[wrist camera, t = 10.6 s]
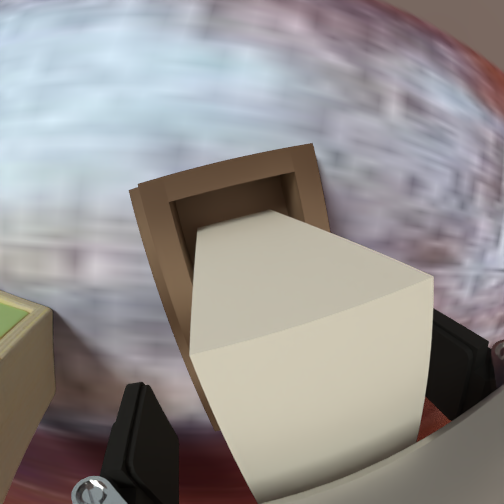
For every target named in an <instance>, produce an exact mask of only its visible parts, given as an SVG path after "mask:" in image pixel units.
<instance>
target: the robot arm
mask: <svg viewBox="0 0 504 504" xmlns="http://www.w3.org/2000/svg"><path fill="white" fill-rule="evenodd" d="M488 344H489V341H487V340H486V339H484V338H482V337H481V336H479V335H477V334H476V333H474V332H472V331H471V330H469V329H467V328H466V327H464V326H462V325H461V324H459V323H457V322H456V321H454V320H452V319H451V318H449V317H447V316H446V315H444V314H442V313H440V312H439V311H437V310H435V309H434V308H433V323H432V339H431V351H430V362H429V371H428V379H427V386H426V393H425V396H426V397H427V398H428V399H429V400H430V401H431V402H432V403H433V404H434V405H435V406H436V407H437V408H438V409H439V410H440V411H441V412H442V413H443V414H444V415H445V416H446V417H447V418H448V419H449V420H451V422H450V423H448V424H447V425H445V426H444V427H442V428H440V429H439V430H437V431H436V432H434V433H432V434H431V435H429V436H427V437H426V438H424V439H422V440H420V441H419V442H417V443H415V444H413V445H412V446H410V447H408V448H406V449H404V450H402V451H400V452H398V453H396V454H395V455H393V456H391V457H389V458H387V459H384V460H382V461H380V462H378V463H376V464H374V465H372V466H370V467H367V468H365V469H363V470H360V471H358V472H356V473H353V474H351V475H349V476H346V477H344V478H341V479H338V480H336V481H333V482H331V483H328V484H325V485H322V486H319V487H316V488H313V489H310V490H307V491H304V492H301V493H298V494H295V495H291V496H288V497H284V498H281V499H277V500H273V501H269V502H265V503H261V504H504V340H500V341H498V342H496V343H495V344H494V345H493V346H492V348H491V349H490V348H488ZM72 502H73V504H179V441H178V437H177V435H176V433H175V431H174V430H173V428H172V426H171V424H170V423H169V421H168V419H167V417H166V416H165V414H164V412H163V410H162V408H161V406H160V404H159V403H158V401H157V399H156V397H155V395H154V393H153V391H152V389H151V387H150V386H149V385H145V384H144V383H143V382H138V383H133V384H128V385H127V386H126V388H125V391H124V395H123V398H122V402H121V405H120V408H119V412H118V416H117V419H116V422H115V423H114V424H113V426H112V430H111V434H110V437H109V441H108V445H107V449H106V453H105V456H104V460H103V465H102V469H101V473H100V476H91V477H87V478H85V479H83V480H81V481H80V482H79V483H77V484H76V486H75V487H74V489H73V491H72Z"/></svg>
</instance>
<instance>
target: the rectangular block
mask: <svg viewBox="0 0 504 504" xmlns="http://www.w3.org/2000/svg"><path fill="white" fill-rule="evenodd" d="M432 323H433V276H431V275H429V274H427V273H424V272H422V271H420V270H418V269H415V268H413V267H411V266H409V265H406V264H404V263H402V262H399V261H397V260H395V259H392V258H390V257H388V256H385V255H383V254H381V253H378V252H376V251H374V250H371V249H369V248H366V247H364V246H362V245H359V244H357V243H354V242H352V241H349V240H347V239H345V238H342V237H340V236H337V235H335V234H332V233H330V232H327V231H325V230H322V229H320V228H317V227H314V226H312V225H309V224H307V223H304V222H302V221H299V220H296V219H294V218H291V217H289V216H286V215H283V214H281V213H278V212H275V211H273V210H266V211H262V212H258V213H254V214H250V215H246V216H242V217H238V218H234V219H230V220H226V221H222V222H218V223H214V224H211V225H207V226H203V227H199V228H198V229H197V240H196V252H195V264H194V278H193V293H192V309H191V328H190V352H189V356H190V358H191V361H192V363H193V366H194V368H195V371H196V373H197V376H198V378H199V381H200V383H201V386H202V388H203V390H204V393H205V395H206V398H207V400H208V402H209V405H210V407H211V409H212V411H213V414H214V416H215V418H216V420H217V423H218V425H219V427H220V429H221V431H222V434H223V436H224V438H225V440H226V442H227V444H228V446H229V448H230V450H231V453H232V455H233V457H234V459H235V461H236V463H237V465H238V467H239V469H240V471H241V473H242V475H243V476H244V478H245V480H246V482H247V484H248V486H249V488H250V490H251V492H252V494H253V495H254V497H255V499H256V501H257V503H258V504H261V503H265V502H269V501H273V500H277V499H281V498H284V497H288V496H291V495H295V494H298V493H301V492H304V491H307V490H310V489H313V488H316V487H319V486H322V485H325V484H328V483H331V482H333V481H336V480H338V479H341V478H344V477H346V476H349V475H351V474H353V473H356V472H358V471H360V470H363V469H365V468H367V467H370V466H372V465H374V464H376V463H378V462H380V461H382V460H384V459H387V458H389V457H391V456H393V455H395V454H396V453H398V452H400V451H402V450H404V449H406V448H408V447H410V446H412V445H413V444H415V443H416V441H417V436H418V432H419V427H420V422H421V417H422V411H423V405H424V399H425V393H426V386H427V379H428V371H429V362H430V351H431V339H432Z"/></svg>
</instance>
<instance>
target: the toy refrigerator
mask: <svg viewBox="0 0 504 504" xmlns="http://www.w3.org/2000/svg"><path fill="white" fill-rule="evenodd" d="M55 391H56V385H55V373H54V354H53V311H52V310H51V309H50V308H48V307H45V306H43V305H40V304H37V303H34V302H31V301H28V300H25V299H22V298H19V297H17V296H14V295H11V294H9V293H6V292H3V291H1V290H0V504H3V502H4V500H5V497H6V495H7V492H8V490H9V488H10V485H11V483H12V480H13V478H14V475H15V473H16V471H17V469H18V467H19V464H20V462H21V460H22V458H23V456H24V454H25V452H26V449H27V447H28V445H29V443H30V441H31V439H32V437H33V435H34V433H35V431H36V429H37V427H38V425H39V423H40V421H41V419H42V417H43V415H44V413H45V412H46V410H47V408H48V406H49V404H50V402H51V400H52V399H53V397H54V394H55Z"/></svg>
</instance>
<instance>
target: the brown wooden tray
mask: <svg viewBox="0 0 504 504" xmlns="http://www.w3.org/2000/svg"><path fill="white" fill-rule="evenodd" d="M129 193H130V197H131V201H132V205H133V209H134V213H135V217H136V220H137V224H138V227H139V231H140V234H141V238H142V241H143V245H144V248H145V252H146V255H147V258H148V261H149V265H150V268H151V271H152V274H153V277H154V280H155V283H156V286H157V289H158V292H159V295H160V298H161V301H162V304H163V307H164V310H165V312H166V315H167V318H168V321H169V323H170V326H171V329H172V332H173V334H174V337H175V339H176V342H177V345H178V347H179V350H180V352H181V355H182V357H183V360H184V362H185V365H186V367H187V370H188V372H189V374H190V377H191V379H192V382H193V384H194V386H195V389H196V391H197V393H198V395H199V398H200V400H201V402H202V404H203V407H204V409H205V411H206V413H207V415H208V418H209V420H210V422H211V424H212V426H213V428H214V430H215V431H219V430H221V429H220V427H219V425H218V423H217V420H216V418H215V416H214V414H213V411H212V409H211V407H210V405H209V402H208V400H207V398H206V395H205V393H204V390H203V388H202V386H201V383H200V381H199V378H198V376H197V373H196V371H195V368H194V366H193V363H192V361H191V358H190V356H189V352H190V328H191V309H192V293H193V278H194V264H195V252H196V240H197V229H198V228H199V227H203V226H207V225H211V224H214V223H218V222H222V221H226V220H230V219H234V218H238V217H242V216H246V215H250V214H254V213H258V212H262V211H266V210H273V211H275V212H278V213H281V214H283V215H286V216H289V217H291V218H294V219H296V220H299V221H302V222H304V223H307V224H309V225H312V226H314V227H317V228H320V229H322V230H325V231H327V232H330V226H329V221H328V215H327V210H326V204H325V199H324V194H323V189H322V184H321V179H320V174H319V169H318V165H317V160H316V155H315V151H314V147H313V143H310V144H304V145H299V146H293V147H288V148H282V149H277V150H272V151H267V152H262V153H257V154H252V155H248V156H243V157H239V158H234V159H230V160H225V161H221V162H217V163H213V164H209V165H205V166H201V167H197V168H193V169H189V170H185V171H182V172H178V173H174V174H171V175H167V176H164V177H160V178H157V179H153V180H150V181H146V182H143V183H140V184H138V188H134V189H131V190H129ZM330 233H331V232H330Z"/></svg>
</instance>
